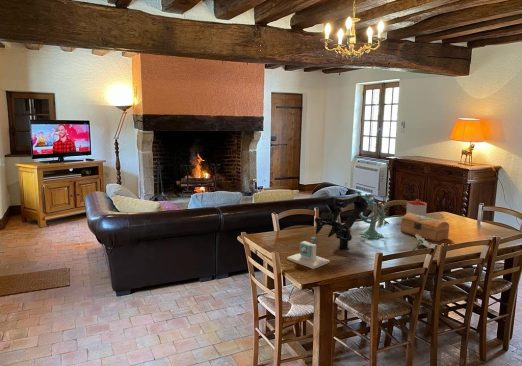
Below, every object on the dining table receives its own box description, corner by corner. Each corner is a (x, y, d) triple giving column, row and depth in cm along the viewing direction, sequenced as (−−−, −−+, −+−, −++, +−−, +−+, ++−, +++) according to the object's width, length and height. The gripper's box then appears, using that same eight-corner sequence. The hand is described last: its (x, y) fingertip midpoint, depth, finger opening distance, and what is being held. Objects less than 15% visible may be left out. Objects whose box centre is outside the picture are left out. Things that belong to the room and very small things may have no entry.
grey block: (312, 254, 243) (313, 236, 241) (316, 256, 240) (317, 237, 238) (300, 259, 235) (301, 240, 233) (304, 260, 233) (305, 241, 231)
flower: (404, 244, 254) (418, 229, 277) (399, 249, 257) (413, 234, 280) (421, 258, 250) (434, 241, 273) (416, 264, 253) (429, 247, 276)
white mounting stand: (303, 253, 250) (304, 237, 248) (329, 262, 236) (330, 244, 234) (287, 259, 240) (287, 241, 238) (313, 268, 225) (314, 250, 224)
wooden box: (399, 231, 304) (400, 214, 302) (412, 228, 313) (414, 211, 311) (434, 242, 280) (436, 223, 277) (448, 238, 289) (450, 220, 286)
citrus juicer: (409, 218, 343) (411, 196, 340) (428, 223, 330) (431, 199, 327) (399, 221, 333) (401, 198, 330) (419, 226, 320) (421, 202, 317)
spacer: (301, 253, 238) (302, 242, 237) (310, 256, 233) (311, 245, 232) (299, 254, 237) (300, 242, 236) (308, 257, 232) (309, 245, 231)
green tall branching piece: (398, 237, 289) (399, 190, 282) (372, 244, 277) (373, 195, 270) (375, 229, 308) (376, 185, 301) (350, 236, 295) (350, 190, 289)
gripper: (316, 204, 252) (304, 224, 246) (341, 210, 238) (329, 231, 233) (323, 214, 258) (312, 234, 252) (348, 220, 245) (336, 241, 239)
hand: (322, 235), depth 244 cm, fingers open, 9 cm apart
